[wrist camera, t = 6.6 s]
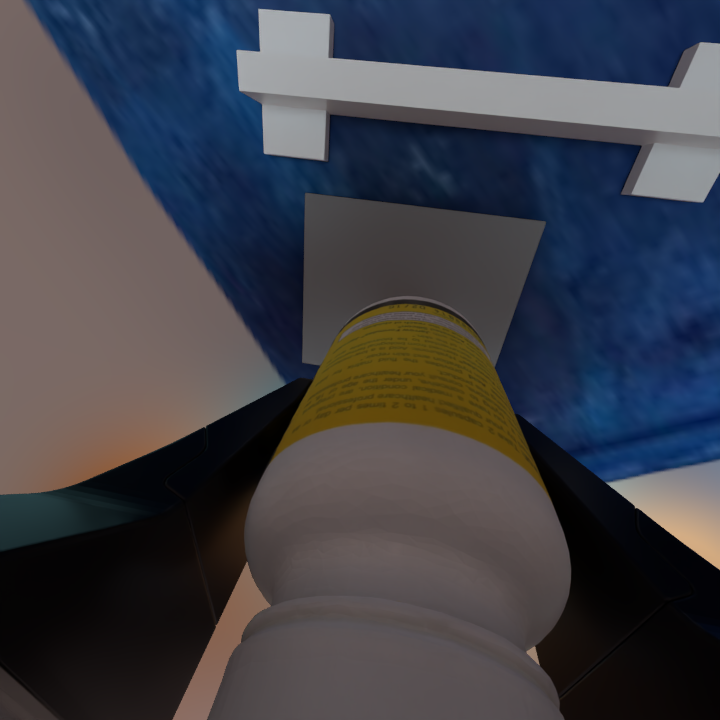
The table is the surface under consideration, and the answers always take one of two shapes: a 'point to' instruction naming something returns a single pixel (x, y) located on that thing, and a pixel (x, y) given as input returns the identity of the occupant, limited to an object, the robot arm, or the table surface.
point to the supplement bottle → (400, 539)
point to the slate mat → (410, 264)
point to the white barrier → (485, 104)
